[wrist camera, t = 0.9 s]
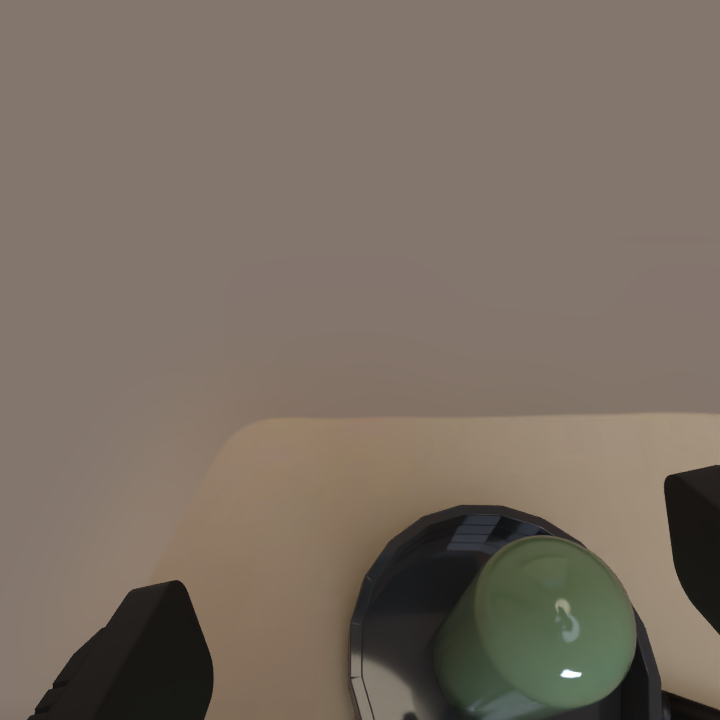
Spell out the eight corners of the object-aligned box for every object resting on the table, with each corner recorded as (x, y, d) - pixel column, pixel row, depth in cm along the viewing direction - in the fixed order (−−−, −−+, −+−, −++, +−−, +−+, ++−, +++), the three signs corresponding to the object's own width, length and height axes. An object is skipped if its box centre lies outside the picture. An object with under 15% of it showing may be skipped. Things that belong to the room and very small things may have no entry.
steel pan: (305, 776, 21) (302, 775, 18) (390, 498, 28) (396, 472, 25) (625, 910, 19) (668, 929, 16) (628, 574, 26) (658, 554, 24)
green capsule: (420, 704, 22) (475, 658, 14) (445, 586, 25) (503, 491, 16) (539, 749, 21) (672, 730, 13) (550, 623, 24) (665, 541, 16)
